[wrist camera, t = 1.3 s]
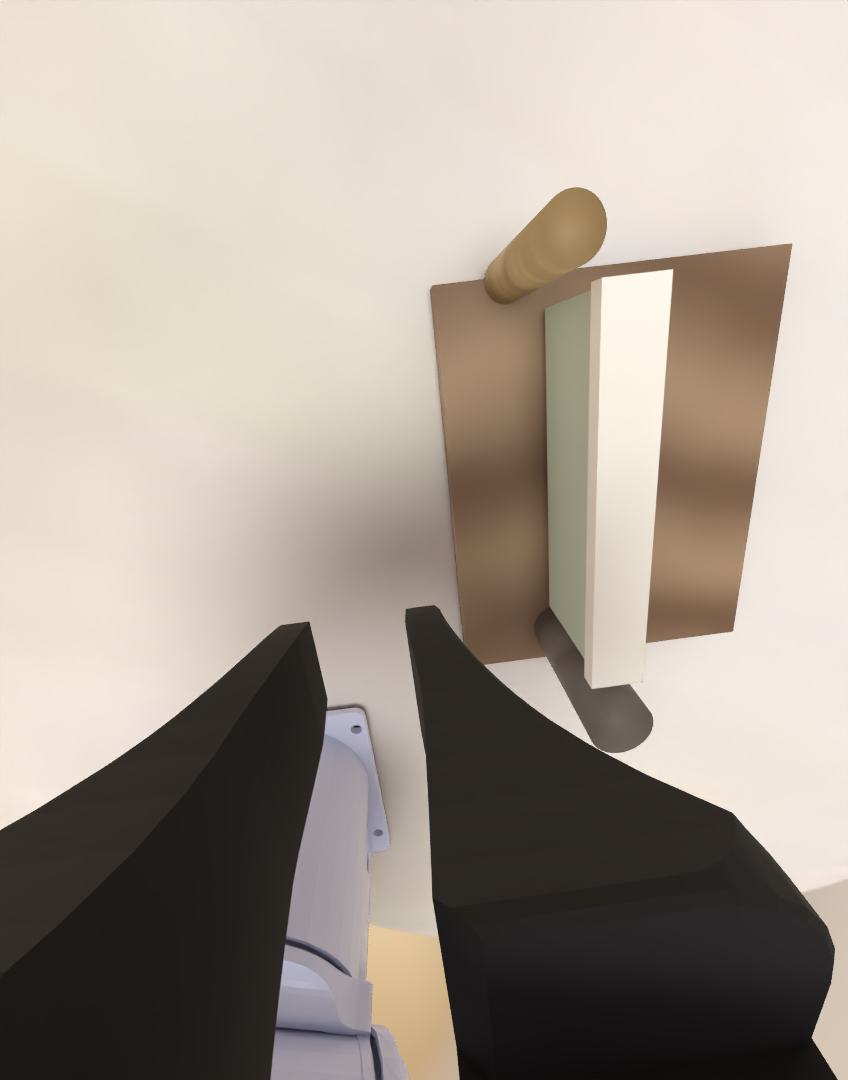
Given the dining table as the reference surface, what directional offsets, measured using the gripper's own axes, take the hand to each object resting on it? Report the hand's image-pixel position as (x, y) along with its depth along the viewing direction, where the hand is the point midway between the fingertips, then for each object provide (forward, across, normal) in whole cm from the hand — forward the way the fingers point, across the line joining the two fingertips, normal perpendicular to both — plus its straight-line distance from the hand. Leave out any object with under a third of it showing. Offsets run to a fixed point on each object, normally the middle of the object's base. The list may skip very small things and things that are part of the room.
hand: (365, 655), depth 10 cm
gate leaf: (+8, -7, -1) cm, 11 cm away
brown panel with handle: (+9, -9, -1) cm, 13 cm away
